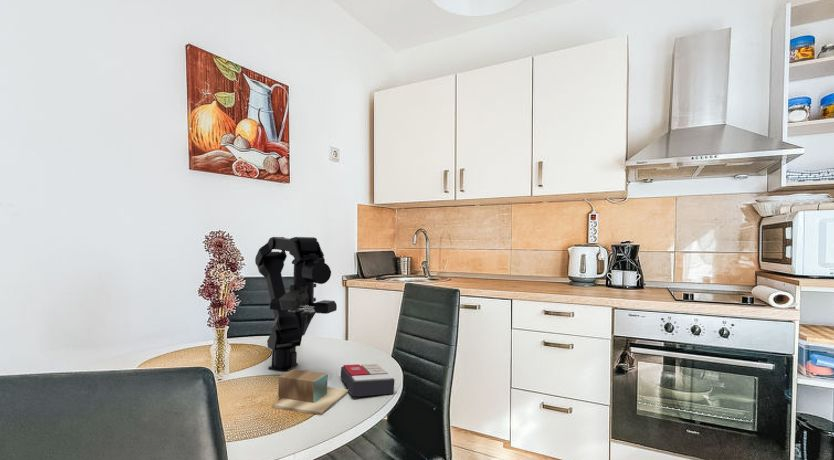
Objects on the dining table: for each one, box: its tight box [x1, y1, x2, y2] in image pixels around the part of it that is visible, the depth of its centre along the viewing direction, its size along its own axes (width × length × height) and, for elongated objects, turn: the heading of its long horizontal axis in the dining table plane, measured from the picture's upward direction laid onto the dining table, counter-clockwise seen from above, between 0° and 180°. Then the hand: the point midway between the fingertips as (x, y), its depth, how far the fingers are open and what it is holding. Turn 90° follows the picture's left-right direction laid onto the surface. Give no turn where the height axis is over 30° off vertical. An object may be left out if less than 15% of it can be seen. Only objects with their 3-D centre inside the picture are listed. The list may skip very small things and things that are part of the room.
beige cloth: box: [271, 386, 350, 416], centre depth 95 cm, size 13×14×1 cm
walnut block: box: [277, 368, 328, 403], centre depth 96 cm, size 5×6×10 cm
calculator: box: [340, 363, 395, 398], centre depth 104 cm, size 11×4×15 cm
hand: (302, 335), depth 110 cm, fingers closed
